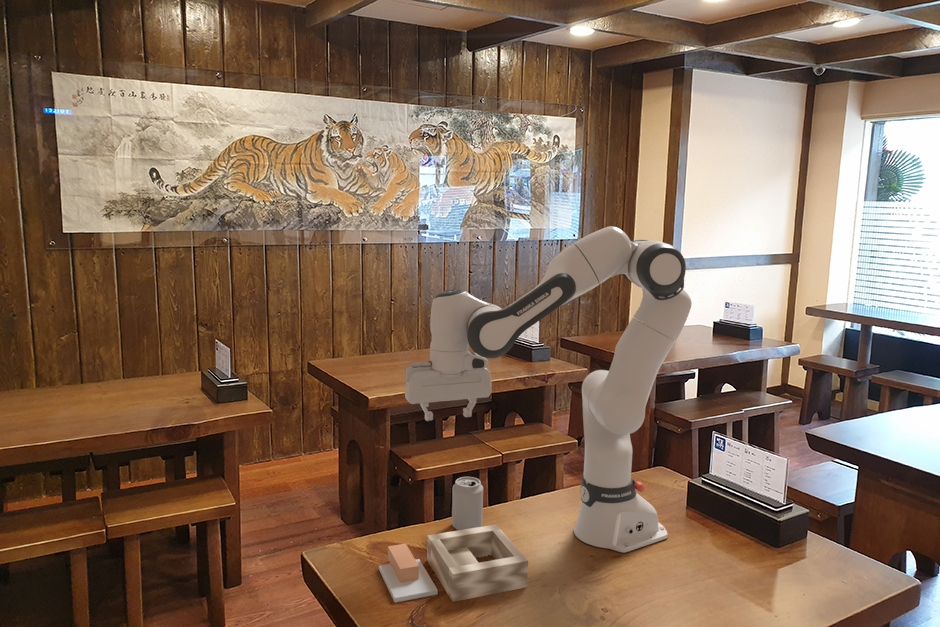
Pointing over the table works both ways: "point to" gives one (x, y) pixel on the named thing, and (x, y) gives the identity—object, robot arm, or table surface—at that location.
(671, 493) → the table surface
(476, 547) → the pocket block
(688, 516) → the table surface
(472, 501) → the can
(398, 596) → the mat
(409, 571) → the bar
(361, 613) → the table surface
